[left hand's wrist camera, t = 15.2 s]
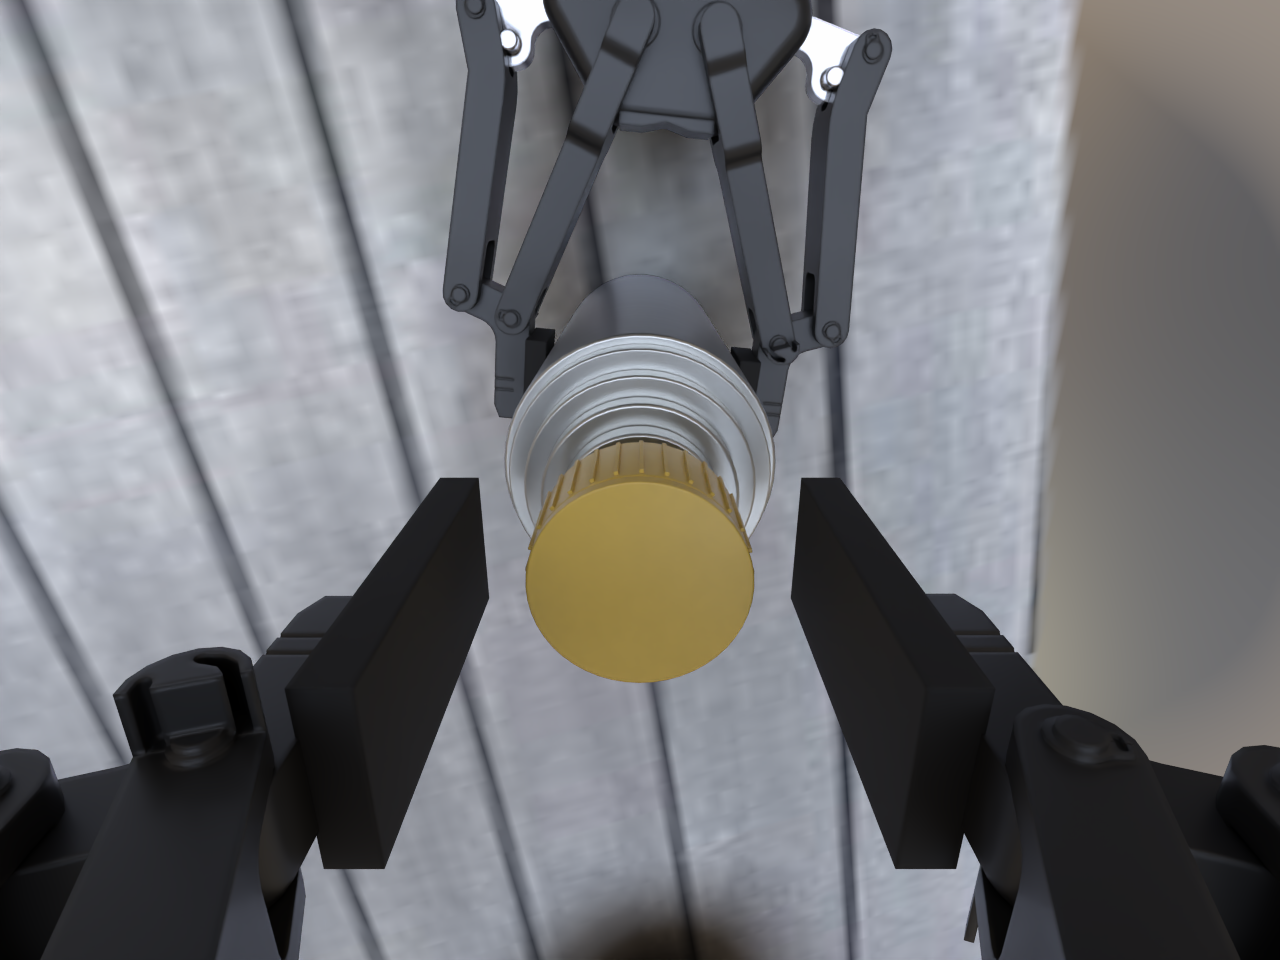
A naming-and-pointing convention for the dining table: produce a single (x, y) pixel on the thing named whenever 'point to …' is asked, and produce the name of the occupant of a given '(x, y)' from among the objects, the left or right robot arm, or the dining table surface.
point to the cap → (639, 564)
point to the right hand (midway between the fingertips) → (628, 503)
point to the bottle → (639, 397)
